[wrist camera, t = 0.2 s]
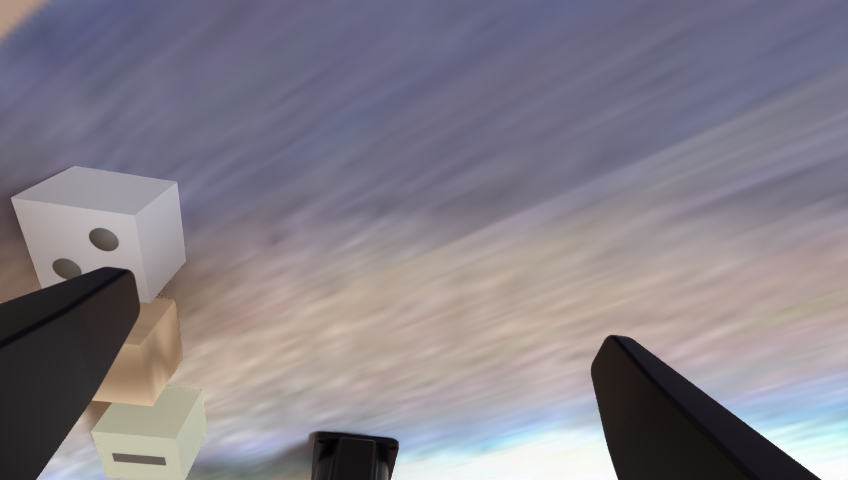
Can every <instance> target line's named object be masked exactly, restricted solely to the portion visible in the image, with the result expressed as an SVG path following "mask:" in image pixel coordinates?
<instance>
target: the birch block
mask: <svg viewBox="0 0 848 480" xmlns="http://www.w3.org/2000/svg"><path fill="white" fill-rule="evenodd" d="M182 359H183V351H182V344H181V337H180V330H179V322H178V315H177V308H176V301H175V300H172V299H164V298H156V297H155V298H154V299H153V300H152V302H151V303H145V302H140V314H139V317H138V319H137V321H136V323H135V325H134V327H133V328H132V330H131V332H130V334H129V336H128V337H127V339H126V341H125V343H124V345H123V346H122V348H121V350H120V352H119V354H118V355H117V357H116V359H115V361H114V363H113V364H112V366H111V368H110V370H109V372H108V373H107V375H106V377H105V379H104V381H103V382H102V384H101V386H100V387H99V389H98V391H97V393H96V394H95V396H94V397H93V399H92V400H93V401H104V402H114V403H124V404H134V405H144V406H153V405H154V403H155V402H156V400H157V398H158V397H159V395H160V394H161V392H162V391H163V389H164V387H165V386H166V384H167V383H168V381H169V380H170V378H171V376H172V375H173V373H174V372H175V370H176V369H177V367H178V366H179V364H180V362H181V361H182Z"/></svg>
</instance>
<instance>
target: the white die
mask: <svg viewBox="0 0 848 480" xmlns="http://www.w3.org/2000/svg"><path fill="white" fill-rule="evenodd" d="M11 200H12V203H13V206H14V209H15V212H16V215H17V218H18V221H19V224H20V227H21V230H22V232H23V235H24V238H25V241H26V244H27V247H28V250H29V253H30V256H31V259H32V262H33V265H34V268H35V271H36V274H37V276H38V279H39V282H40V285H41V288H42V289H43V288H46V287H49V286H52V285H54V284H57V283H60V282H63V281H66V280H68V279H71V278H74V277H77V276H79V275H82V274H85V273H88V272H90V271H93V270H96V269H99V268H102V267H116V268H123V269H129V270H131V271H132V272H133V273H134V275H135V279H136V284H137V290H138V295H139V301H140V302H145V303H151V302H152V300H153V299H154V298H155V297H156V296H157V295H158V293H159V292H160V291H161V290H162V289H163V288H164V286H165V285H166V284H167V283H168V282H169V281H170V279H171V278H172V277H173V276H174V275H175V274H176V272H177V271H178V270H179V269H180V268H181V267H182V265H183V264H184V263H185V262H186V254H185V246H184V237H183V229H182V220H181V212H180V204H179V195H178V187H177V182H174V181H167V180H161V179H155V178H148V177H142V176H135V175H129V174H123V173H116V172H110V171H103V170H97V169H91V168H84V167H78V166H73V167H71V168H69V169H67V170H65V171H63V172H61V173H59V174H57V175H55V176H53V177H51V178H49V179H47V180H45V181H43V182H41V183H39V184H37V185H35V186H33V187H31V188H29V189H27V190H25V191H23V192H21V193H19V194H17V195H15V196H13V197H11Z"/></svg>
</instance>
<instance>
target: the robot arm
mask: <svg viewBox="0 0 848 480" xmlns="http://www.w3.org/2000/svg"><path fill="white" fill-rule="evenodd" d="M139 314H140V301H139V295H138V290H137V284H136V279H135V275H134V273H133V272H132V271H131V270H129V269H123V268H116V267H102V268H99V269H96V270H93V271H90V272H88V273H85V274H82V275H79V276H77V277H74V278H71V279H68V280H66V281H63V282H60V283H57V284H54V285H52V286H49V287H46V288H43V289H41V290H38V291H35V292H32V293H29V294H27V295H24V296H21V297H18V298H16V299H13V300H10V301H7V302H4V303H2V304H0V480H36V479H37V478H38V476H39V475H40V473H41V472H42V471H43V469H44V468H45V466H46V465H47V463H48V462H49V461H50V459H51V458H52V456H53V455H54V453H55V452H56V451H57V449H58V448H59V446H60V445H61V443H62V442H63V441H64V439H65V438H66V436H67V435H68V433H69V432H70V431H71V429H72V428H73V426H74V425H75V424H76V422H77V421H78V419H79V418H80V416H81V415H82V414H83V412H84V411H85V409H86V408H87V406H88V405H89V403H90V402H91V400H92V399H93V397H94V396H95V394H96V393H97V391H98V389H99V387H100V386H101V384H102V382H103V381H104V379H105V377H106V375H107V373H108V372H109V370H110V368H111V366H112V364H113V363H114V361H115V359H116V357H117V355H118V354H119V352H120V350H121V348H122V346H123V345H124V343H125V341H126V339H127V337H128V336H129V334H130V332H131V330H132V328H133V327H134V325H135V323H136V321H137V319H138V317H139ZM591 377H592V381H593V386H594V390H595V394H596V399H597V403H598V408H599V412H600V417H601V421H602V426H603V430H604V435H605V439H606V442H607V446H608V450H609V453H610V456H611V460H612V463H613V466H614V469H615V472H616V475H617V478H618V480H821V479H820V478H818V477H817V476H816V475H814V474H813V473H812V472H810V471H809V470H808V469H806V468H805V467H804V466H802V465H801V464H799V463H798V462H797V461H795V460H794V459H793V458H791V457H790V456H789V455H787V454H786V453H785V452H783V451H782V450H781V449H779V448H778V447H777V446H775V445H774V444H773V443H771V442H770V441H769V440H767V439H766V438H765V437H763V436H762V435H761V434H759V433H758V432H757V431H755V430H754V429H753V428H751V427H750V426H749V425H747V424H746V423H745V422H743V421H742V420H741V419H739V418H738V417H736V416H735V415H734V414H732V413H731V412H730V411H728V410H727V409H726V408H724V407H723V406H722V405H720V404H719V403H718V402H716V401H715V400H714V399H712V398H711V397H710V396H708V395H707V394H706V393H704V392H703V391H702V390H700V389H699V388H698V387H696V386H695V385H694V384H692V383H691V382H690V381H688V380H687V379H686V378H684V377H683V376H682V375H680V374H679V373H678V372H676V371H675V370H674V369H672V368H671V367H670V366H668V365H667V364H665V363H664V362H663V361H661V360H660V359H659V358H657V357H656V356H655V355H653V354H652V353H651V352H649V351H648V350H647V349H645V348H644V347H643V346H641V345H640V344H639V343H637V342H636V341H635V340H633V339H632V338H630V337H626V336H618V335H609V336H608V337H607V338H606V339H605V340H604V342H603V344H602V346H601V348H600V349H599V351H598V353H597V355H596V357H595V359H594V360H593V363H592V366H591ZM398 449H399V442H398V441H397V440H394V439H383V438H373V437H362V436H352V435H342V434H331V433H318V434H317V435H316V437H315V443H314V454H313V465H312V477H311V480H391V477H392V473H393V469H394V465H395V461H396V457H397V453H398Z"/></svg>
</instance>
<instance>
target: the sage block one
mask: <svg viewBox="0 0 848 480" xmlns="http://www.w3.org/2000/svg"><path fill="white" fill-rule="evenodd" d="M91 433H92V436H93V439H94V442H95V445H96V448H97V451H98V454H99V457H100V460H101V462H102V465H103V468H104V471H105V474H106V477H108V478H121V479H134V480H185V479H186V477H187V475H188V473H189V471H190V469H191V467H192V465H193V463H194V460H195V458H196V456H197V454H198V452H199V450H200V448H201V446H202V444H203V441H204V439H205V437H206V435H207V433H208V432H207V424H206V416H205V407H204V399H203V391H202V389H195V388H186V387H176V386H165V387H164V389H163V391H162V392H161V394H160V395H159V397H158V398H157V400H156V402H155V403H154V405H153V406H144V405H134V404H124V403H114V402H112V404H111V405H110V406H109V408H108V409H107V410H106V412H105V413H104V414H103V416H102V417H101V418H100V420H99V421H98V423H97V424H96V425H95V427H94V428H93V429H92V431H91Z"/></svg>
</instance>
